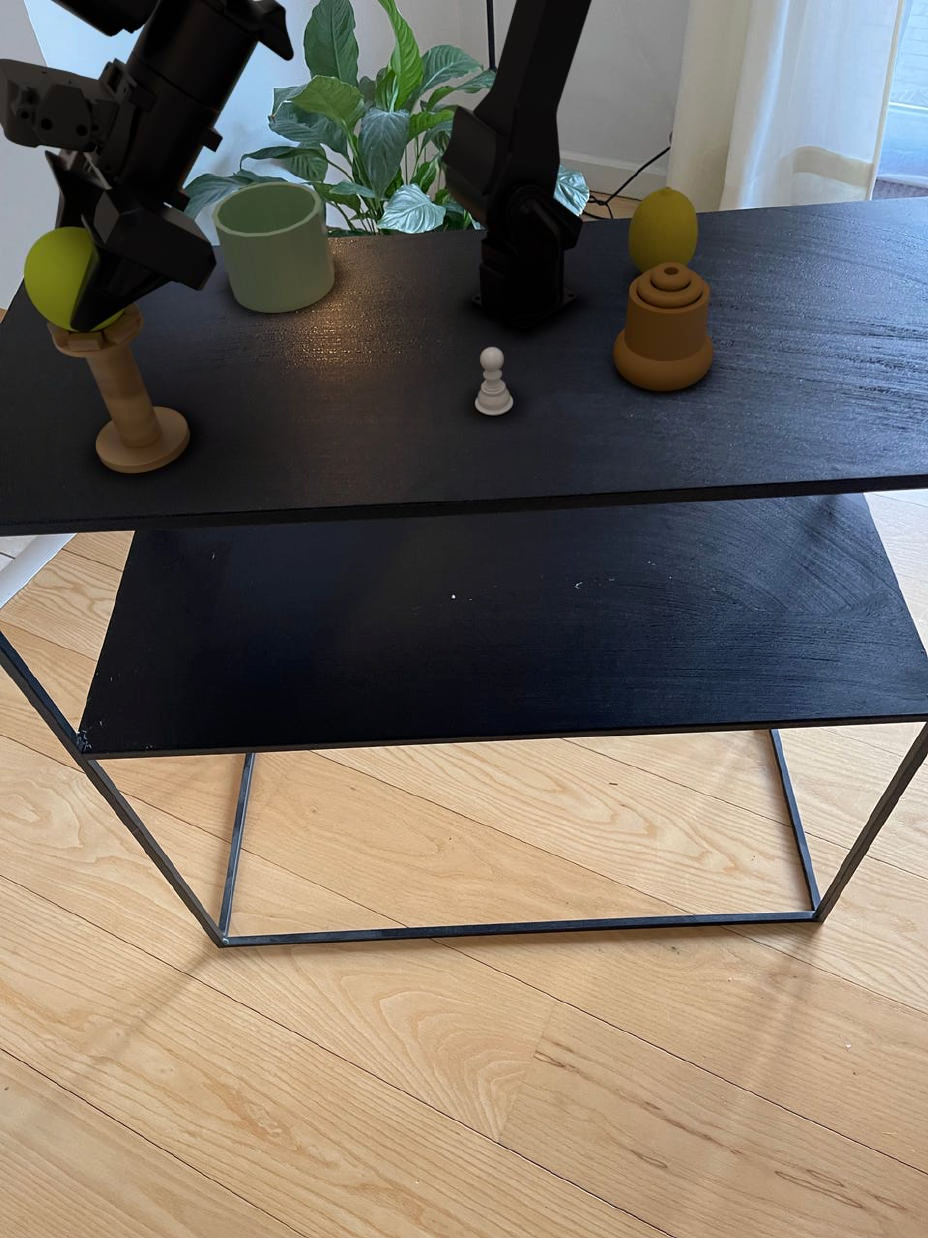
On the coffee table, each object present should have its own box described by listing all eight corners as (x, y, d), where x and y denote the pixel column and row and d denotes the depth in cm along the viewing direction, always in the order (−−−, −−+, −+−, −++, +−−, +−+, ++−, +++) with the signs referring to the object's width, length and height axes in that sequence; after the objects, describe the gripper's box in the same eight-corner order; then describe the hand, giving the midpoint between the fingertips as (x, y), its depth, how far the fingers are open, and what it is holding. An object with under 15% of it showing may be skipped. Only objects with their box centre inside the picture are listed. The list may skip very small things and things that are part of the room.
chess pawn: (512, 392, 74) (510, 335, 70) (513, 415, 72) (511, 358, 69) (475, 393, 74) (471, 337, 71) (475, 417, 73) (471, 360, 69)
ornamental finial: (594, 376, 75) (642, 327, 78) (682, 408, 72) (728, 355, 75) (598, 282, 69) (649, 233, 72) (694, 311, 65) (744, 259, 69)
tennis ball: (62, 299, 68) (23, 210, 63) (152, 294, 67) (121, 204, 62) (36, 354, 63) (-8, 264, 59) (132, 348, 63) (97, 257, 58)
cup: (244, 258, 89) (224, 183, 84) (340, 255, 89) (327, 179, 83) (223, 314, 84) (201, 237, 78) (327, 311, 83) (311, 233, 78)
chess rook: (111, 416, 76) (56, 290, 67) (197, 412, 75) (153, 284, 67) (89, 475, 71) (28, 348, 63) (180, 471, 71) (131, 342, 63)
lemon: (690, 300, 80) (701, 206, 74) (622, 296, 81) (628, 204, 75) (694, 264, 84) (705, 171, 78) (628, 261, 85) (634, 169, 79)
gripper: (10, -48, 58) (-88, 188, 63) (87, 51, 47) (-41, 326, 52) (176, 62, 66) (76, 263, 71) (275, 168, 55) (148, 396, 60)
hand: (65, 305), depth 64 cm, fingers closed on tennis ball, 6 cm apart
